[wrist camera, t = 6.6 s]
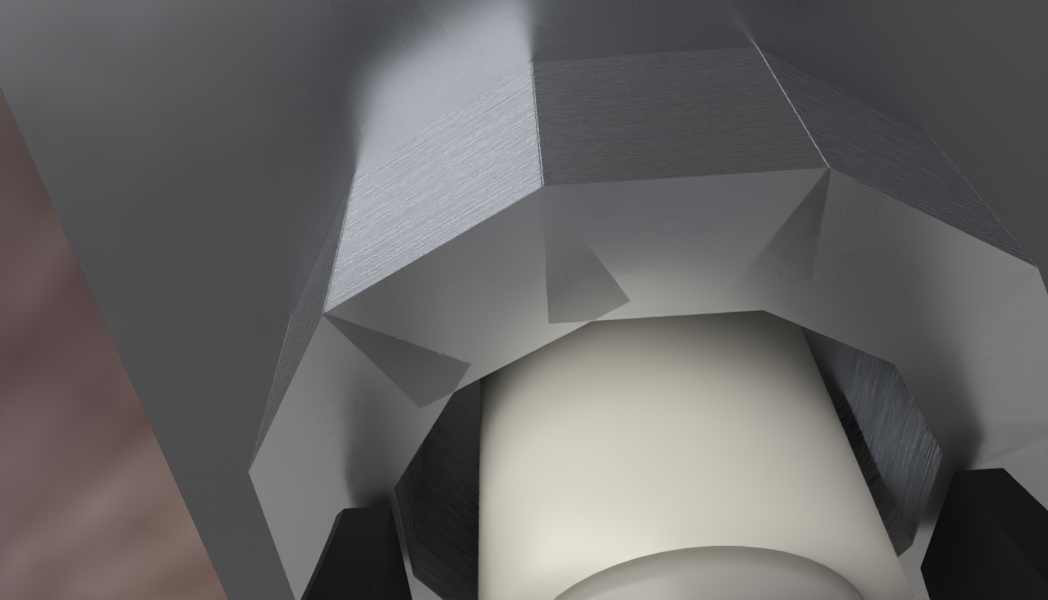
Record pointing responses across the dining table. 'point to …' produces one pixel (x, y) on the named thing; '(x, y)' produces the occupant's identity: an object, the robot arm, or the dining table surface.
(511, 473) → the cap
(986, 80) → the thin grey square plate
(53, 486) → the dining table surface
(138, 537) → the dining table surface
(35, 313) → the dining table surface
